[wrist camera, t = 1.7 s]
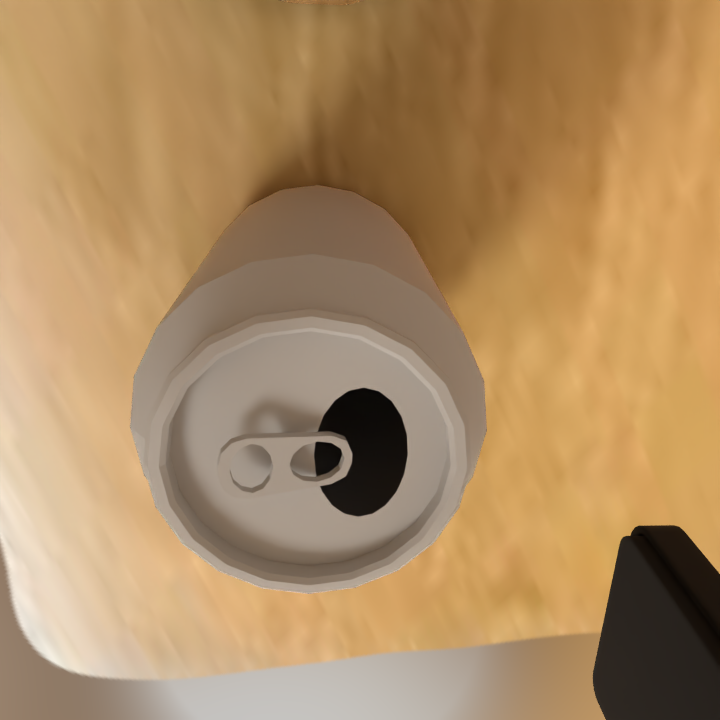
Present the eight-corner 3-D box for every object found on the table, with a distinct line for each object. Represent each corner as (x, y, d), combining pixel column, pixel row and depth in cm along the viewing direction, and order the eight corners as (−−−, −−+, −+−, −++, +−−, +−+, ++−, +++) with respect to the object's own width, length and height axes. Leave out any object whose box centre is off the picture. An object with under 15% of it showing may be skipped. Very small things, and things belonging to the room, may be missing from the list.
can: (414, 386, 25) (485, 625, 14) (215, 384, 25) (124, 628, 14) (429, 184, 22) (533, 283, 11) (204, 177, 22) (79, 272, 11)
